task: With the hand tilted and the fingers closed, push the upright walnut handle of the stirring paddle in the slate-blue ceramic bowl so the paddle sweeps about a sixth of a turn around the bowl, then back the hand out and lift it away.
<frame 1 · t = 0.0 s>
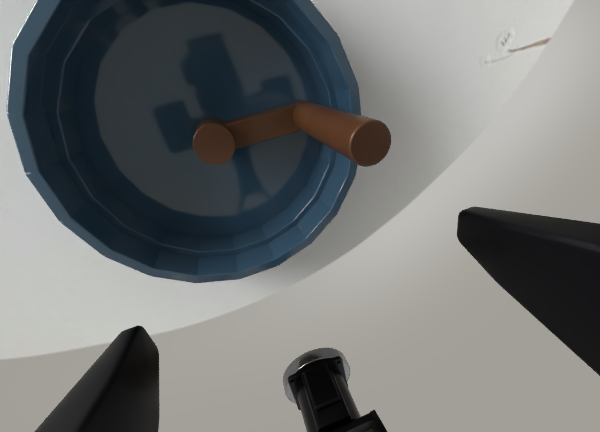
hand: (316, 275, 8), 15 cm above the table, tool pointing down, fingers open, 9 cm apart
bowl: (213, 134, 20), on the table
stirring paddle: (269, 140, 15), point 6 cm above the table, hinge at 0.0°
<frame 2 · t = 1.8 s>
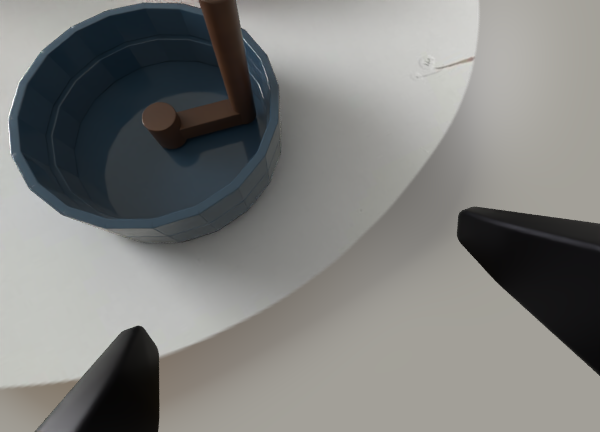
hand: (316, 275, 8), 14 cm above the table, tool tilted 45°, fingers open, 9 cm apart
bowl: (176, 141, 24), on the table
stirring paddle: (186, 80, 18), point 6 cm above the table, hinge at 0.0°
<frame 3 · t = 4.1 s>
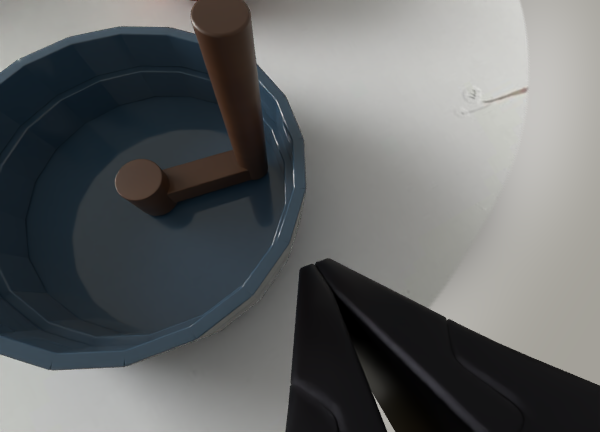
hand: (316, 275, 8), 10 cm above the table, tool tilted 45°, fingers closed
bowl: (164, 201, 18), on the table
stirring paddle: (176, 136, 13), point 6 cm above the table, hinge at 0.0°
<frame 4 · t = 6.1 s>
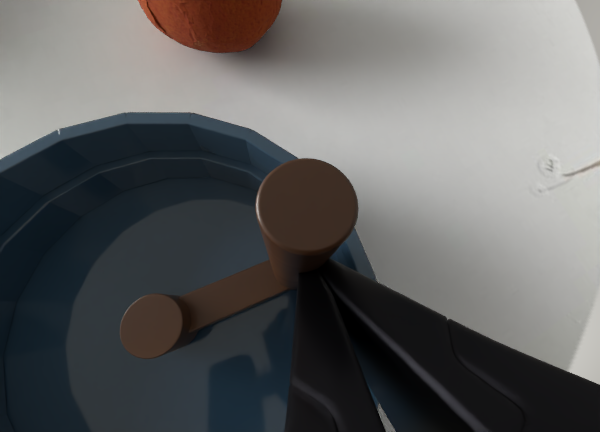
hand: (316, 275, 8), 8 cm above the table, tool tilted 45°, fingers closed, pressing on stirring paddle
bowl: (181, 321, 14), on the table
stirring paddle: (206, 292, 9), point 6 cm above the table, hinge at 3.2°, touching gripper
fruit: (221, 32, 20), on the table
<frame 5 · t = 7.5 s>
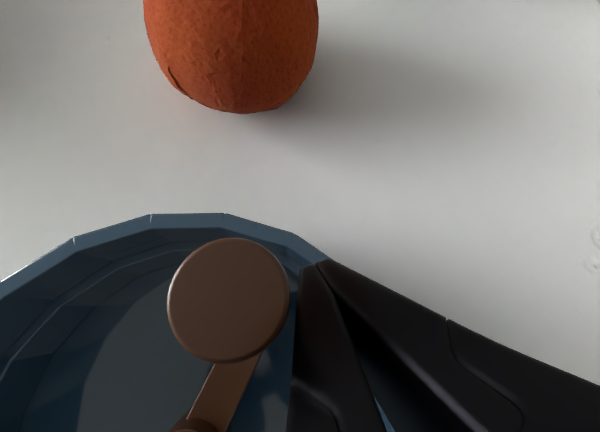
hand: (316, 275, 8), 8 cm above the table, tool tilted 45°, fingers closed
bowl: (207, 429, 13), on the table
stirring paddle: (206, 406, 8), point 6 cm above the table, hinge at 45.0°, touching gripper
fruit: (243, 82, 19), on the table
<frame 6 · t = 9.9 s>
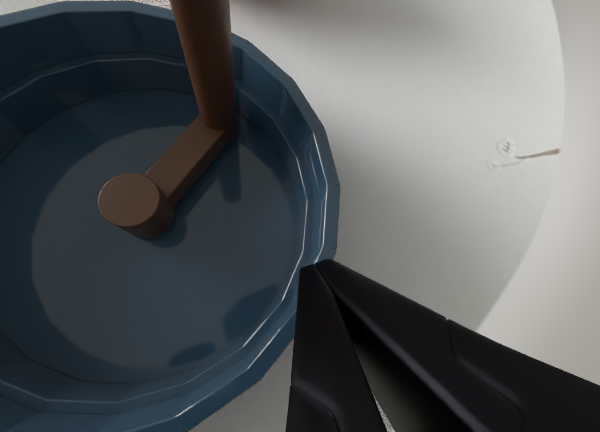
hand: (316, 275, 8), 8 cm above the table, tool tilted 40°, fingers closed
bowl: (154, 219, 15), on the table
stirring paddle: (157, 116, 11), point 6 cm above the table, hinge at 45.4°
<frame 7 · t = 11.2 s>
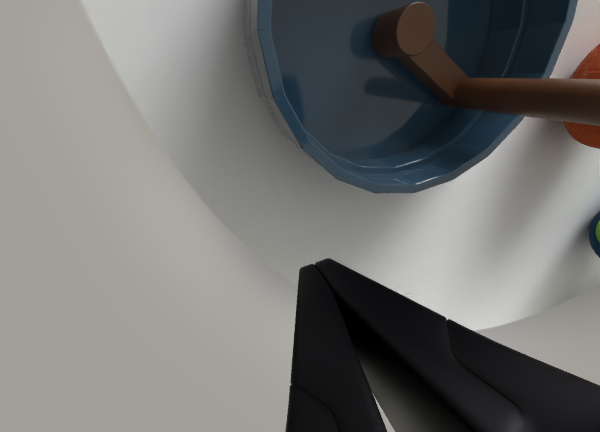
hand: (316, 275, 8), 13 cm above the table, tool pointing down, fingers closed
christmas ornament: (596, 217, 33), on the table
bowl: (382, 36, 18), on the table
stirring paddle: (484, 60, 14), point 6 cm above the table, hinge at 45.4°
fruit: (577, 86, 24), on the table
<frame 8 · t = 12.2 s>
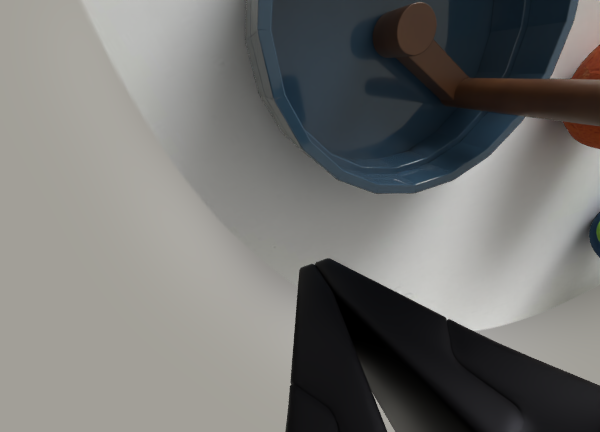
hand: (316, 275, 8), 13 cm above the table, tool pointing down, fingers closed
christmas ornament: (597, 218, 33), on the table
bowl: (383, 37, 18), on the table
stirring paddle: (485, 61, 14), point 6 cm above the table, hinge at 45.4°
fruit: (578, 86, 24), on the table
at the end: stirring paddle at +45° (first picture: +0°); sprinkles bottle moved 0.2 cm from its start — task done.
